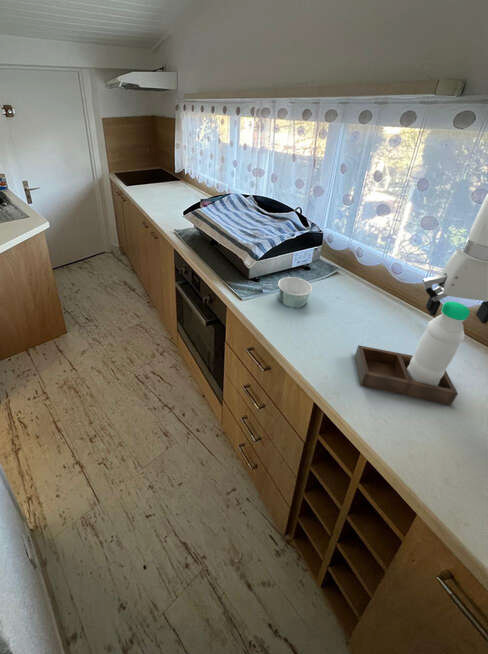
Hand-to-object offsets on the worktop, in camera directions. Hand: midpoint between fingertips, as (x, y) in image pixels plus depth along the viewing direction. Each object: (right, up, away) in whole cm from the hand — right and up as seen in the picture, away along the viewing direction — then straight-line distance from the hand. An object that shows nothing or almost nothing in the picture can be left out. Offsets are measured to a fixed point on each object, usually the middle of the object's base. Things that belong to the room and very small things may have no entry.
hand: (455, 315), depth 70 cm
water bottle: (0, -20, +11) cm, 23 cm away
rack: (-5, -20, +12) cm, 24 cm away
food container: (-23, -3, +44) cm, 50 cm away
